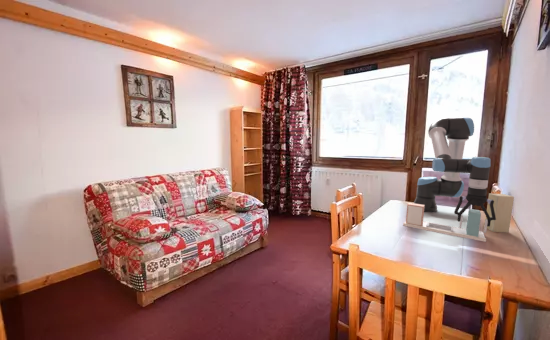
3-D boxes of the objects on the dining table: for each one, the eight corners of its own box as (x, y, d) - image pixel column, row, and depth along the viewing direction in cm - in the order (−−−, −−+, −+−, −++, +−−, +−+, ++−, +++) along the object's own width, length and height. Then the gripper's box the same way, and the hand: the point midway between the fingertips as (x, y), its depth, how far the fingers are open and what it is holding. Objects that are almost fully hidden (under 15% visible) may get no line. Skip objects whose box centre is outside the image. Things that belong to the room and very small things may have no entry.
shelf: (407, 220, 153) (407, 215, 152) (482, 234, 132) (483, 228, 132) (402, 227, 140) (403, 222, 140) (485, 244, 119) (486, 237, 119)
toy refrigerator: (498, 230, 139) (503, 193, 136) (509, 235, 132) (514, 196, 129) (482, 229, 140) (487, 193, 137) (492, 234, 133) (498, 196, 130)
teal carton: (466, 234, 127) (469, 212, 126) (465, 230, 134) (468, 208, 132) (478, 237, 124) (481, 214, 123) (477, 232, 131) (479, 210, 129)
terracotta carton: (406, 222, 145) (408, 202, 143) (422, 225, 140) (424, 204, 139) (405, 224, 141) (407, 204, 139) (421, 227, 136) (423, 206, 135)
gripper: (450, 185, 129) (446, 227, 132) (508, 191, 116) (501, 237, 119) (451, 183, 135) (446, 223, 138) (505, 189, 123) (499, 232, 125)
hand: (472, 229), depth 129 cm, fingers open, 9 cm apart
